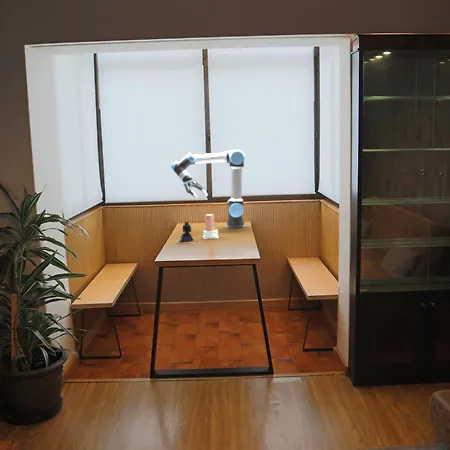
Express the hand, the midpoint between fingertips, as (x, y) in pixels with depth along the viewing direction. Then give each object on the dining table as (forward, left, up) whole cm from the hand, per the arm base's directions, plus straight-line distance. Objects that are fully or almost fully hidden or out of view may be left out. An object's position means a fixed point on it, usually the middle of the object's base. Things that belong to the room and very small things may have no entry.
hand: (201, 196), depth 421 cm
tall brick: (-2, +22, -23) cm, 32 cm away
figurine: (+16, +26, -30) cm, 43 cm away
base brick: (-2, +22, -28) cm, 36 cm away
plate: (-2, +22, -30) cm, 37 cm away
